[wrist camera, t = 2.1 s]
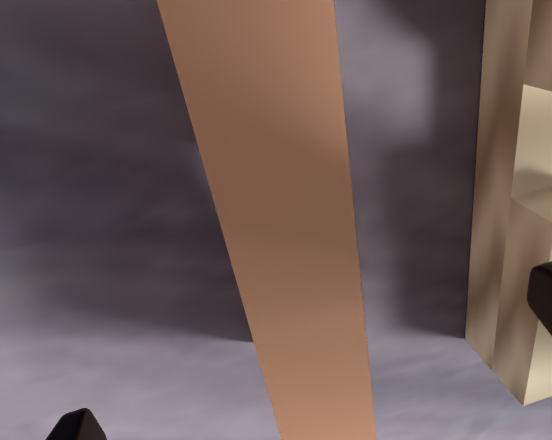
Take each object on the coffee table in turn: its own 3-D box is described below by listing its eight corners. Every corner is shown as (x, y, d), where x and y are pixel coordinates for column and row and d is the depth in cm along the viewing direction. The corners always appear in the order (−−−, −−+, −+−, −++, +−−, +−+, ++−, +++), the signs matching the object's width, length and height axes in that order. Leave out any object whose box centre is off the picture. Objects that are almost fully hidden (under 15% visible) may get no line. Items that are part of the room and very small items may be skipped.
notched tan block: (309, 326, 19) (381, 487, 13) (255, 343, 18) (303, 516, 12) (237, -53, 12) (324, -97, 6) (149, -35, 11) (139, -62, 5)
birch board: (508, 325, 22) (573, 387, 18) (464, 339, 21) (523, 406, 18) (591, -317, 11) (795, -460, 7) (505, -305, 10) (674, -448, 7)
